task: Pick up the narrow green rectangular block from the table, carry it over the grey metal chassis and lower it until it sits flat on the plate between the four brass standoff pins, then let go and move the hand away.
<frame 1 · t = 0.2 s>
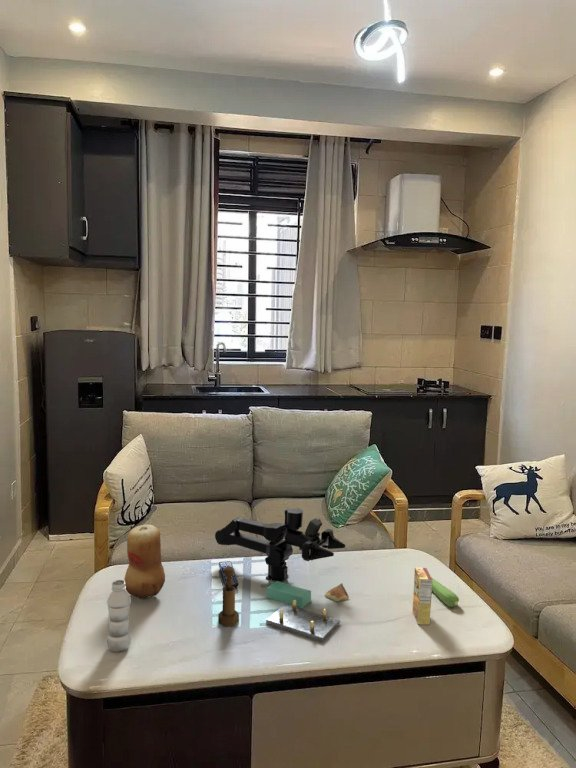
hand: (339, 550, 198), 16 cm above the table, tool horizontal, fingers open, 9 cm apart
candy box: (421, 618, 185), on the table
butternut squash: (145, 597, 196), on the table
plastic bottle: (119, 649, 165), on the table
green cucumber: (440, 597, 201), on the table
shard: (335, 595, 201), on the table
chassis: (302, 624, 180), on the table
green rectangular block: (288, 600, 196), on the table
brown wooden tall piece: (228, 621, 181), on the table
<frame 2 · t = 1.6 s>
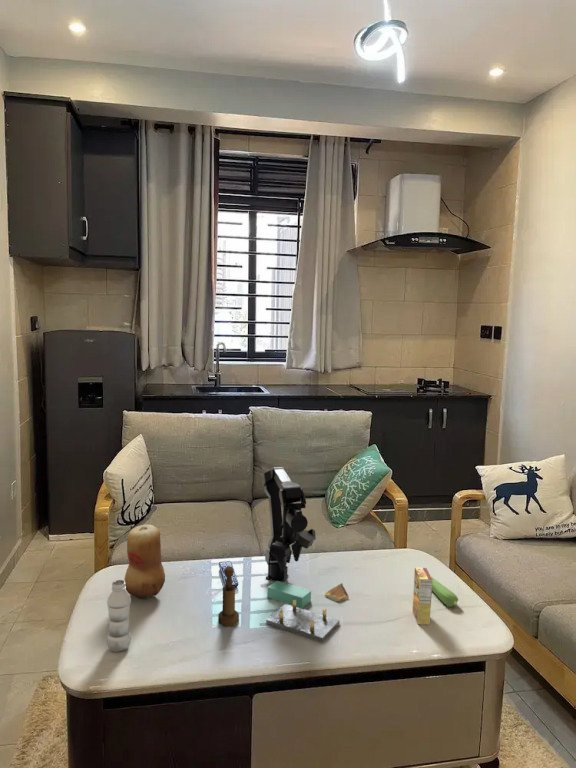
hand: (289, 565, 195), 12 cm above the table, tool pointing down, fingers open, 9 cm apart
nothing on the table moved.
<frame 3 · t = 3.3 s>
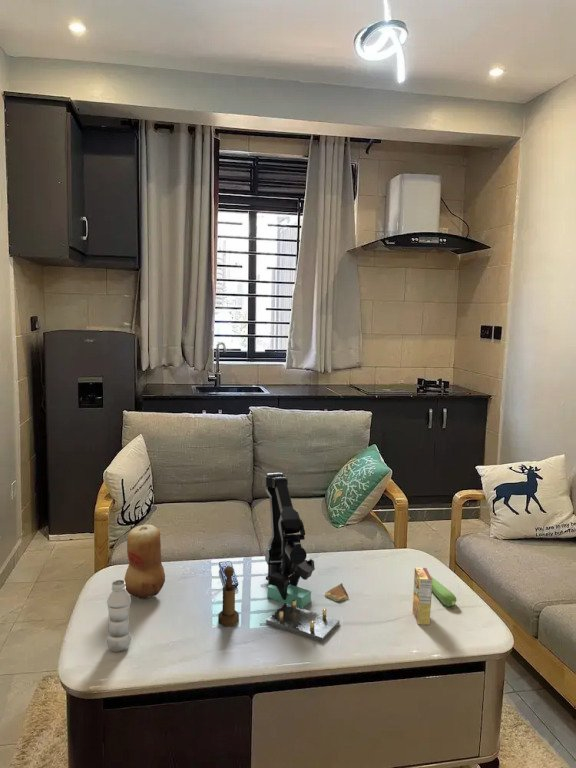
hand: (289, 595, 196), 1 cm above the table, tool pointing down, fingers open, 6 cm apart
nothing on the table moved.
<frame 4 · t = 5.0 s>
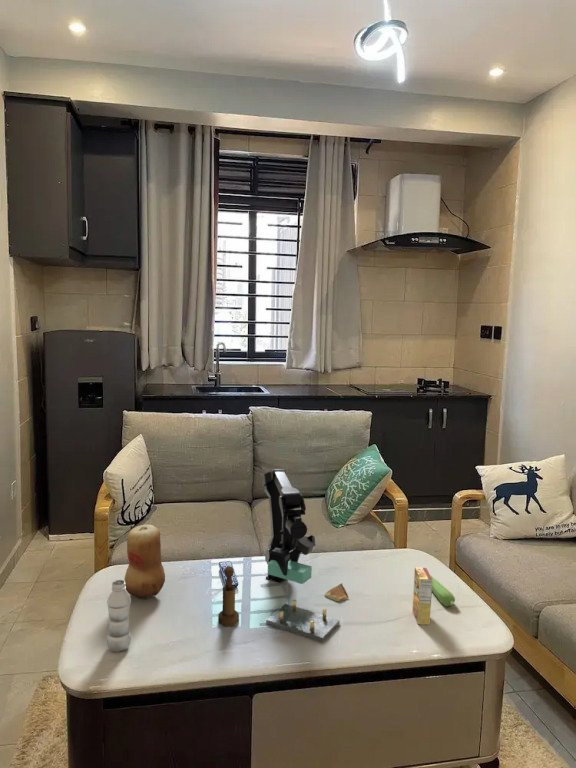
hand: (289, 571, 195), 10 cm above the table, tool pointing down, fingers closed on green rectangular block, 6 cm apart
green rectangular block: (289, 575, 195), point 8 cm above the table, touching gripper
everything else where it was.
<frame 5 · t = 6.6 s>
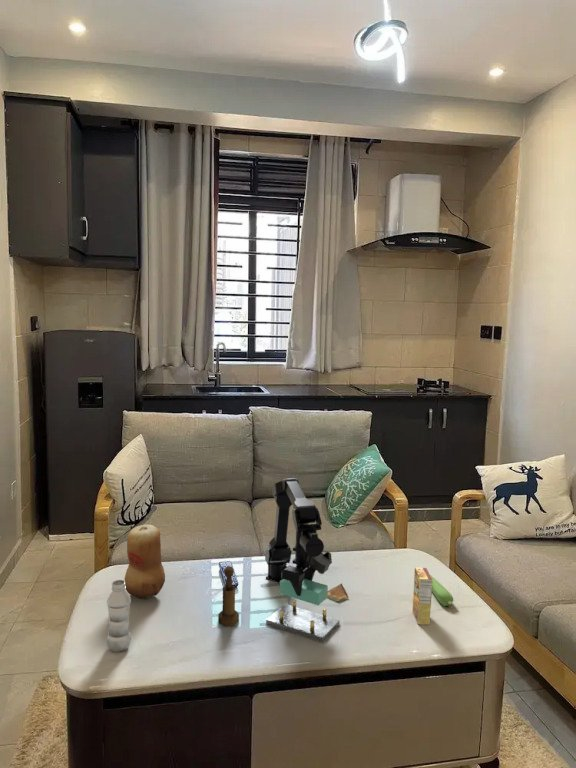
hand: (303, 591, 179), 11 cm above the table, tool pointing down, fingers closed on green rectangular block, 6 cm apart
green rectangular block: (303, 595, 179), point 10 cm above the table, touching gripper
everything else where it was.
when the fingers open (4 cm above the table, at t = 8.5 s): green rectangular block stays where it is, resting on chassis.
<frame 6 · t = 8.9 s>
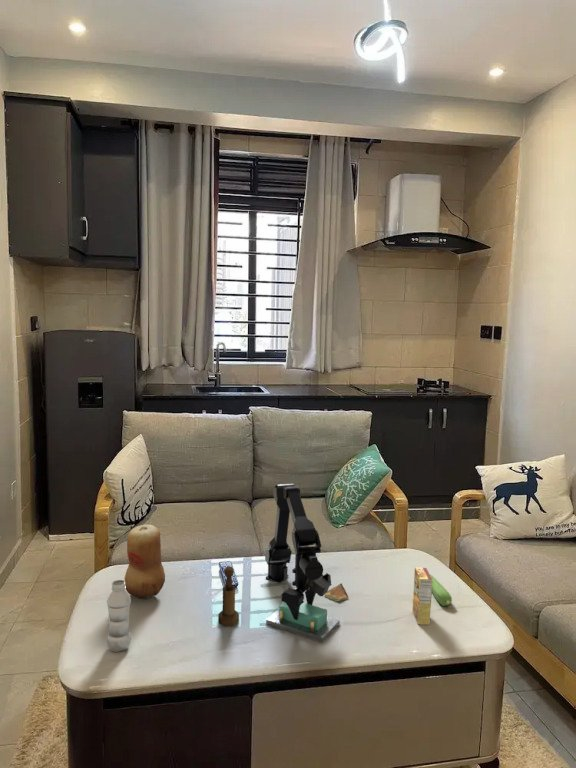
hand: (303, 613, 180), 4 cm above the table, tool pointing down, fingers open, 9 cm apart
green rectangular block: (302, 619, 180), point 1 cm above the table, touching chassis
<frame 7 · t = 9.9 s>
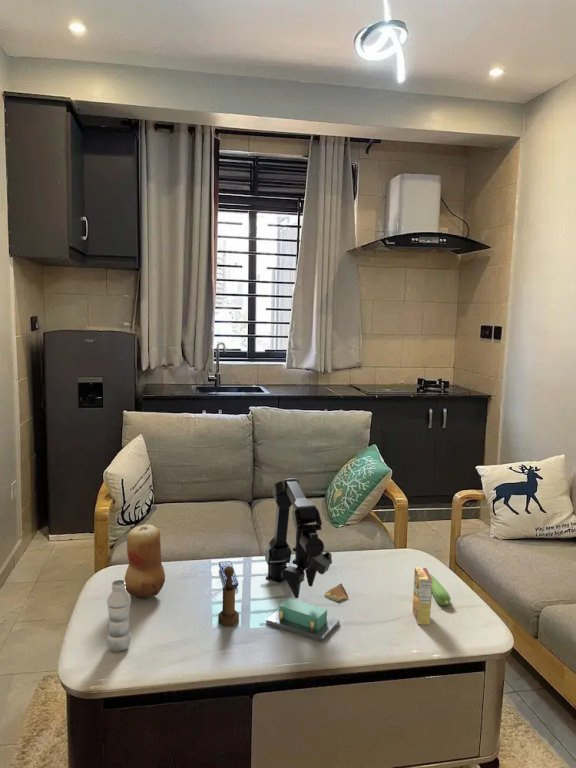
hand: (303, 591, 179), 11 cm above the table, tool pointing down, fingers open, 9 cm apart
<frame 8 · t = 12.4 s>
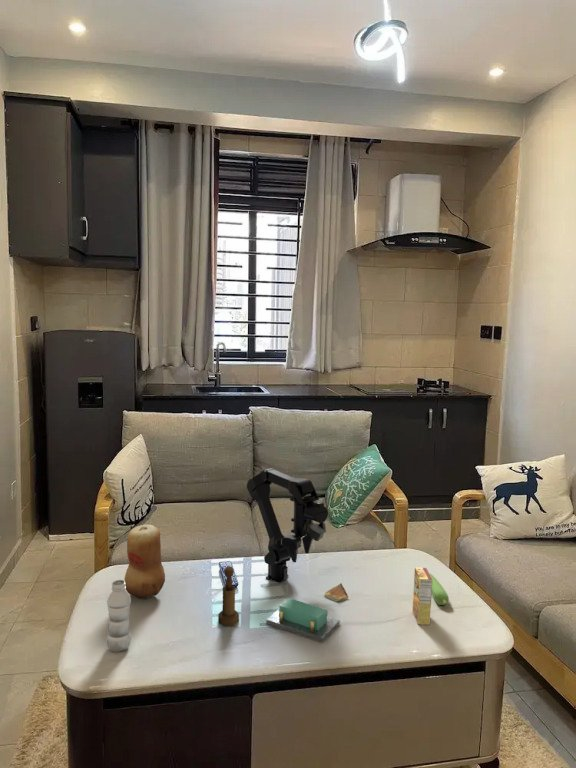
hand: (300, 557, 202), 12 cm above the table, tool pointing down, fingers open, 9 cm apart
at the end: green rectangular block 0.1 cm off-centre on the chassis, point 1.5 cm above the chassis's base; green rectangular block tilted 0°; the gripper is holding nothing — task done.
